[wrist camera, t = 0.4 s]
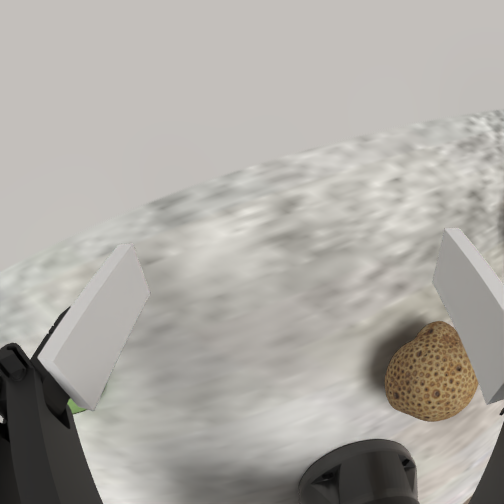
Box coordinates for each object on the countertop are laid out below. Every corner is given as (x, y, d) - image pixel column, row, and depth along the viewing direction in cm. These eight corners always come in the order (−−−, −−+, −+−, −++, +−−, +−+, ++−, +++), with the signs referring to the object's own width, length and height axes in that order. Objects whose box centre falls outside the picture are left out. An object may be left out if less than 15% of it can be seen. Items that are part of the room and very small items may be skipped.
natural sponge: (379, 405, 29) (410, 458, 19) (364, 336, 29) (400, 379, 19) (448, 373, 28) (494, 411, 18) (439, 304, 28) (495, 328, 18)
